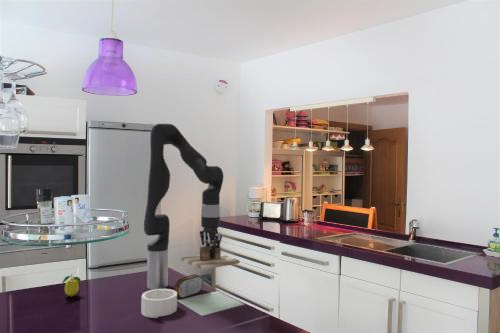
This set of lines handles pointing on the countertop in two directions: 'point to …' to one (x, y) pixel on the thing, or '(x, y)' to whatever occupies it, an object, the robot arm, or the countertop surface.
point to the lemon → (71, 285)
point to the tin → (188, 285)
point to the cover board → (211, 262)
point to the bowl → (158, 302)
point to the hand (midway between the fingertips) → (210, 257)
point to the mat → (210, 303)
